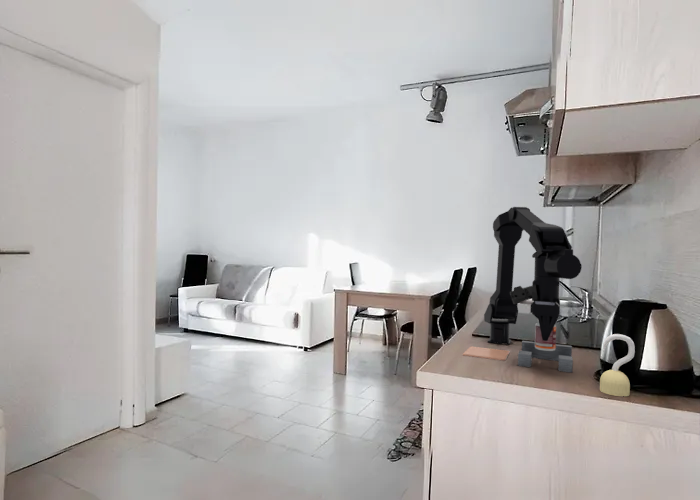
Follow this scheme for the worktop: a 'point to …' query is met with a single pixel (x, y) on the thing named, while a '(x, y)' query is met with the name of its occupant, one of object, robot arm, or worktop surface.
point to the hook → (614, 379)
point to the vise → (546, 355)
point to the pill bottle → (545, 345)
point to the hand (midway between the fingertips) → (545, 338)
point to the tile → (486, 353)
